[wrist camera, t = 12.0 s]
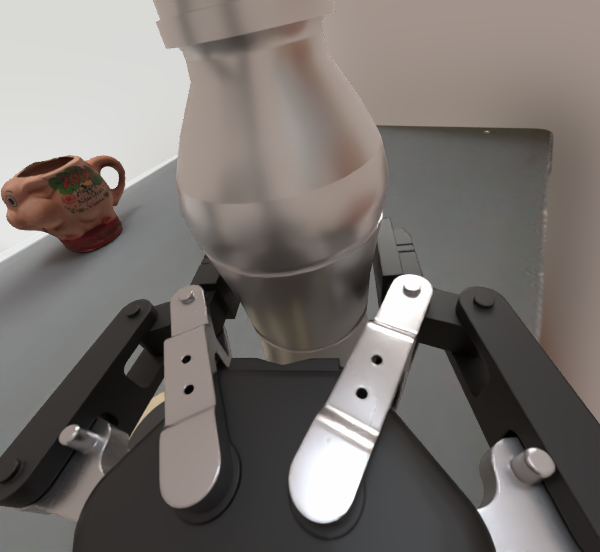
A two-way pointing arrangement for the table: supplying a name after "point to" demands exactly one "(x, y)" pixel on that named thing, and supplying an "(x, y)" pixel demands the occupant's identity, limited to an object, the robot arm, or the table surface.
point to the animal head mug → (66, 201)
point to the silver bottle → (278, 169)
